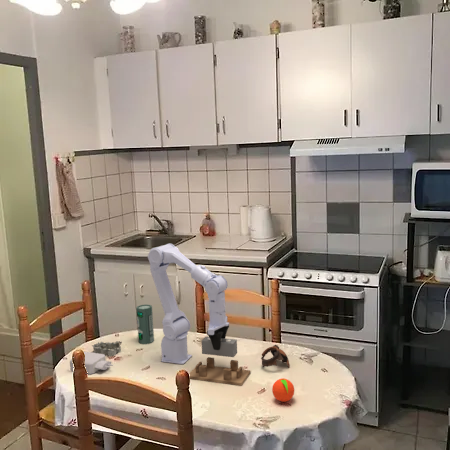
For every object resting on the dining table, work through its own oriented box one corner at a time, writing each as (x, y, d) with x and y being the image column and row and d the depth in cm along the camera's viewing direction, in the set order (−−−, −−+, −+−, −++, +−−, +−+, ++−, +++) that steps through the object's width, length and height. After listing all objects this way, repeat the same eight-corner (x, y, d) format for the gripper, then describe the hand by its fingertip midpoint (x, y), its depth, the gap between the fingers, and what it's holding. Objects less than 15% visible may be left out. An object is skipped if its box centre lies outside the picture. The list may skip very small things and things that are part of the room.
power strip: (202, 353, 184) (201, 339, 183) (206, 349, 188) (205, 335, 187) (233, 357, 180) (233, 342, 179) (237, 352, 184) (236, 338, 183)
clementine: (299, 405, 157) (298, 384, 156) (277, 409, 156) (276, 387, 155) (290, 393, 165) (289, 372, 164) (269, 396, 164) (269, 375, 163)
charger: (104, 378, 182) (70, 372, 188) (119, 367, 190) (86, 362, 196) (103, 365, 181) (69, 359, 187) (118, 355, 190) (85, 350, 196)
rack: (187, 378, 179) (186, 366, 178) (198, 366, 188) (197, 355, 187) (241, 385, 172) (241, 373, 171) (250, 373, 181) (250, 361, 180)
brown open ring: (292, 372, 181) (282, 356, 179) (269, 382, 183) (258, 366, 181) (290, 351, 192) (279, 335, 190) (267, 361, 194) (257, 345, 192)
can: (141, 338, 218) (138, 304, 215) (155, 338, 217) (153, 304, 215) (137, 344, 212) (135, 309, 209) (151, 344, 211) (149, 309, 209)
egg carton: (123, 351, 206) (123, 341, 205) (111, 358, 199) (111, 348, 199) (103, 347, 211) (102, 337, 210) (90, 354, 204) (89, 344, 203)
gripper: (220, 318, 173) (222, 356, 176) (234, 305, 187) (236, 340, 189) (201, 316, 176) (203, 354, 178) (216, 303, 189) (218, 338, 191)
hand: (218, 347), depth 184 cm, fingers closed on power strip, 4 cm apart
